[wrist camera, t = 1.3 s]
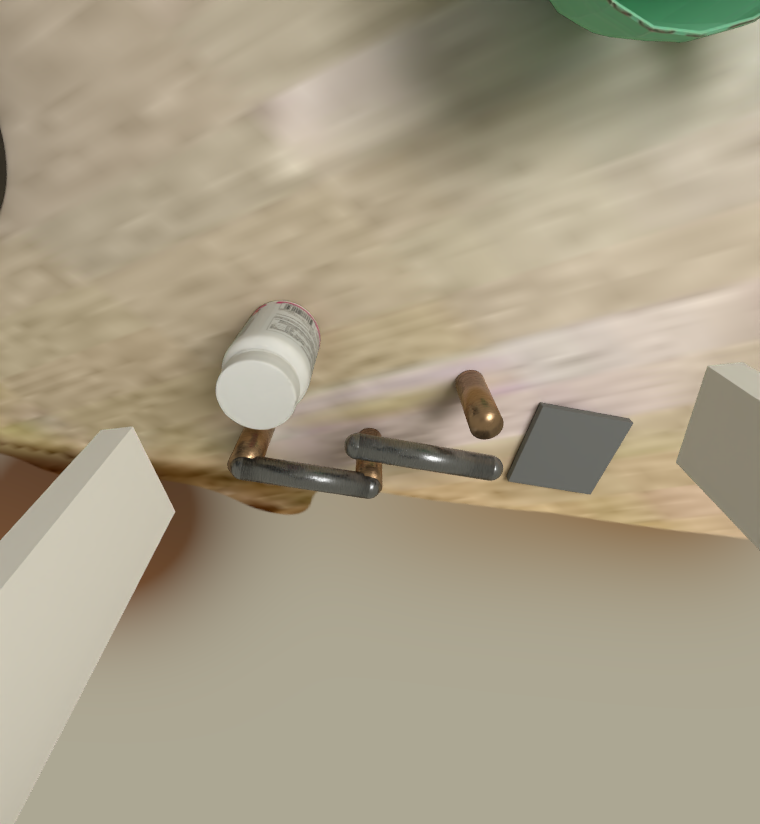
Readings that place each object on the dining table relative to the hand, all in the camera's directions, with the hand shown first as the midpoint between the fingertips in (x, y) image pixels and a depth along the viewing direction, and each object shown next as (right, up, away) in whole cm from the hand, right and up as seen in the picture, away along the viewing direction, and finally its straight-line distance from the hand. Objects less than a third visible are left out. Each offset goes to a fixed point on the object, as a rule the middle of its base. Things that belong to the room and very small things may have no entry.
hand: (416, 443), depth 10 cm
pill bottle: (-7, +6, +18) cm, 21 cm away
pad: (+13, -2, +23) cm, 27 cm away
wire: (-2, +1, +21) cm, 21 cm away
